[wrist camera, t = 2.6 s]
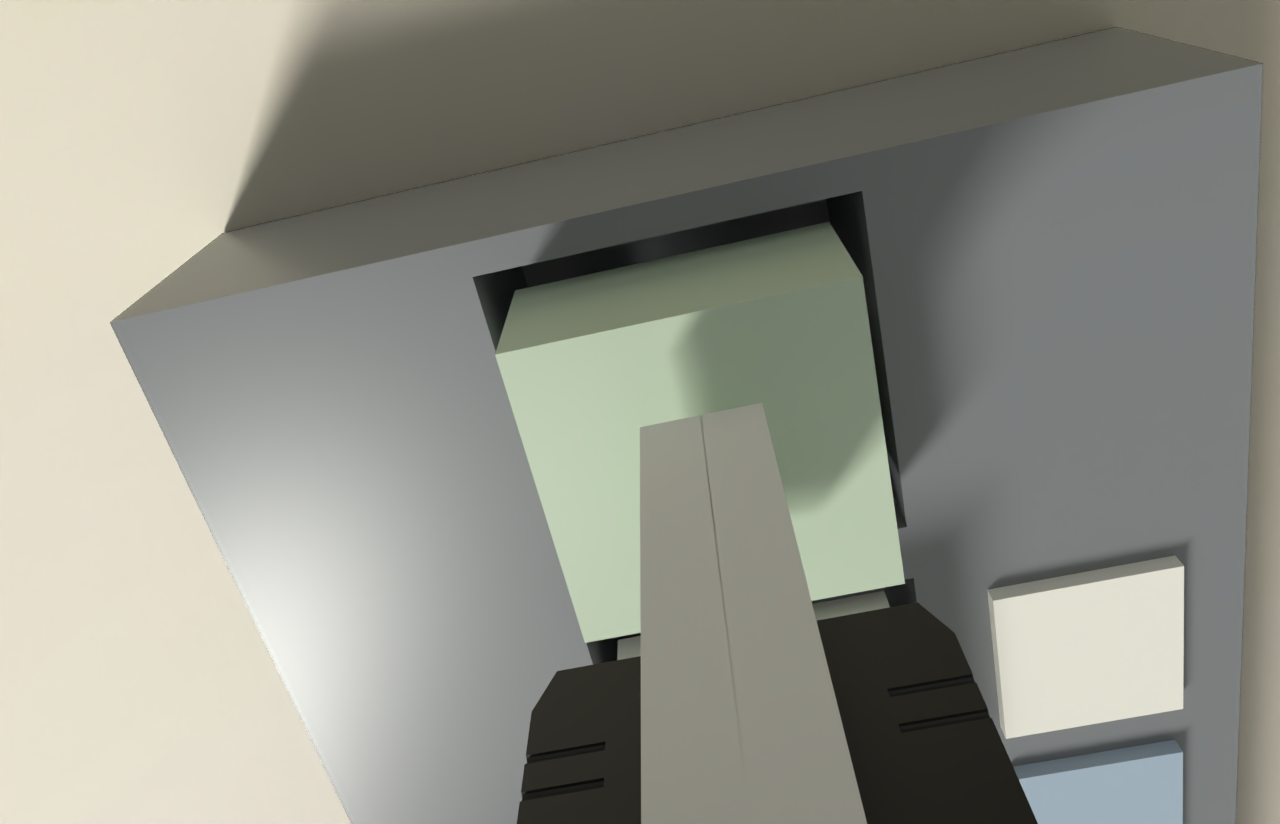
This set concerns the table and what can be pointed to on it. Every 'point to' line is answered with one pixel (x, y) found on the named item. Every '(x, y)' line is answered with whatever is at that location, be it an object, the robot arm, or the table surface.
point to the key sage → (703, 404)
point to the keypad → (908, 391)
